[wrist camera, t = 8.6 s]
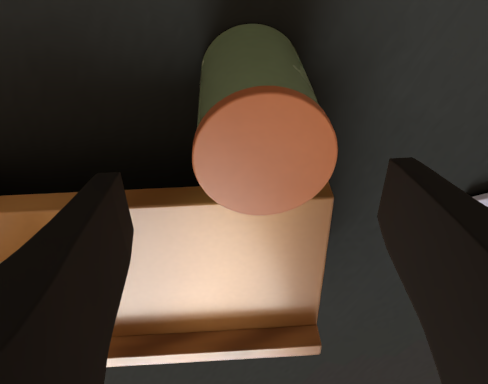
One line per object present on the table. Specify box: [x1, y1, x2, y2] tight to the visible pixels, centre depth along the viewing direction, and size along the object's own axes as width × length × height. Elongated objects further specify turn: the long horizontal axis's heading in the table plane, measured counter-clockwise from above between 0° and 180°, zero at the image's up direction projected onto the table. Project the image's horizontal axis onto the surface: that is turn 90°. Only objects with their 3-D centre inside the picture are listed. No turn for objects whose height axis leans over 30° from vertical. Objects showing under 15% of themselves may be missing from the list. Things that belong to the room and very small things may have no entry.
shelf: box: [0, 182, 334, 367], centre depth 20 cm, size 17×9×5 cm, turn 91°
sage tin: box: [192, 24, 338, 216], centre depth 15 cm, size 4×4×6 cm
